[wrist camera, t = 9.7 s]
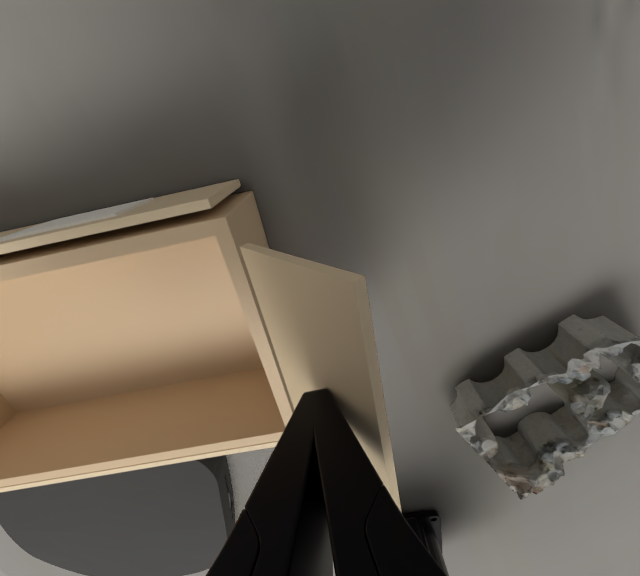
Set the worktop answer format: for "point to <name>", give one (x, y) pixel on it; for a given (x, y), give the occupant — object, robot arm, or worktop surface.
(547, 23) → the worktop surface
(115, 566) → the media streaming box
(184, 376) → the carton
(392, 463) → the flap
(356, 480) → the robot arm
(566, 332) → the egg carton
